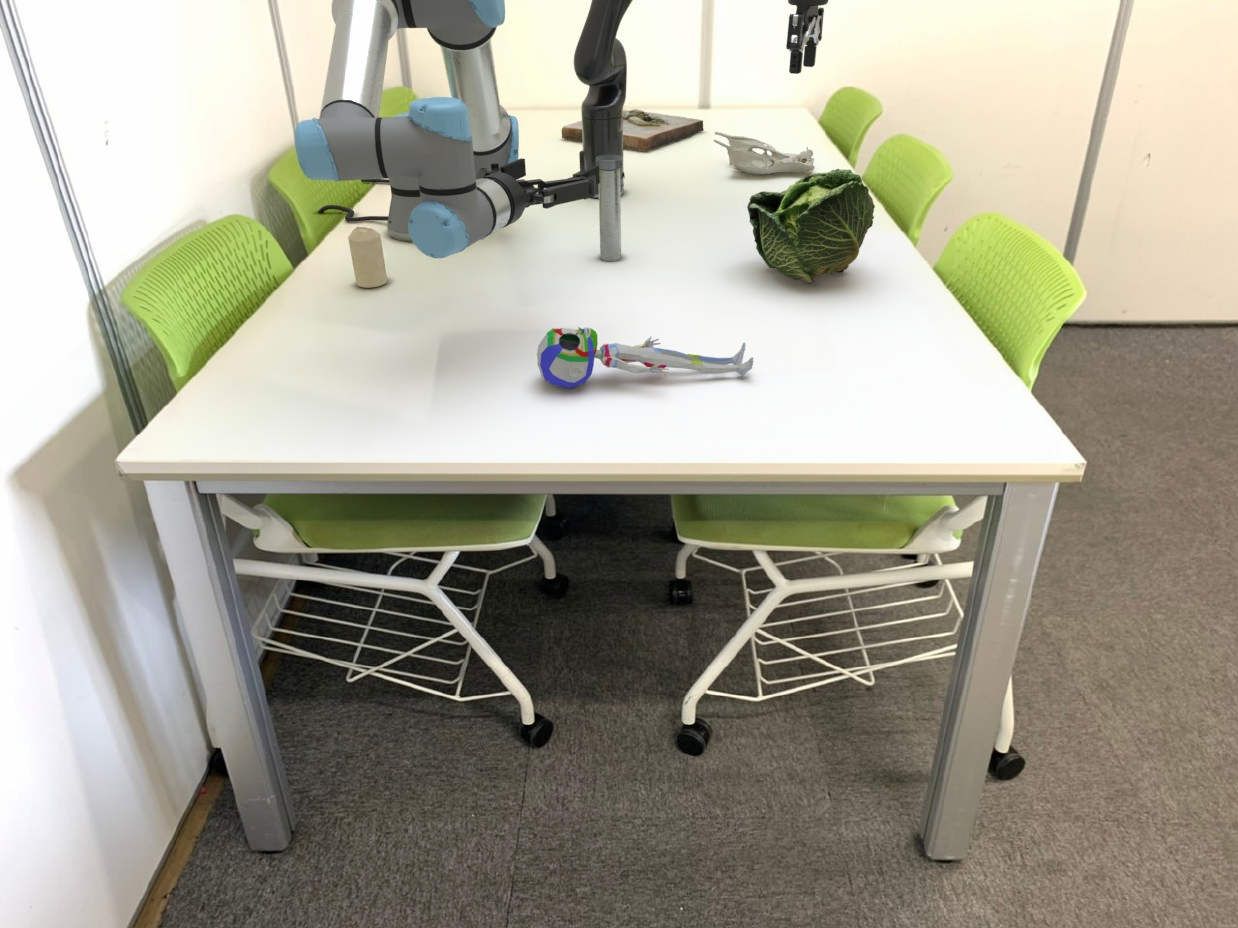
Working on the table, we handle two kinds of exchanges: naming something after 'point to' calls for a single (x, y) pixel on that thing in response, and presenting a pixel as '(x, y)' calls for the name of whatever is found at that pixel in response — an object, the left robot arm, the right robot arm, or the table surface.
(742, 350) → the toy
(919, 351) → the table surface
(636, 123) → the plaque
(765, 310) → the table surface
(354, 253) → the candle
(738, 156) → the anatomical model
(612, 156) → the lid
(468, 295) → the table surface
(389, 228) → the left robot arm
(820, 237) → the vegetable
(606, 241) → the grey long cylinder
